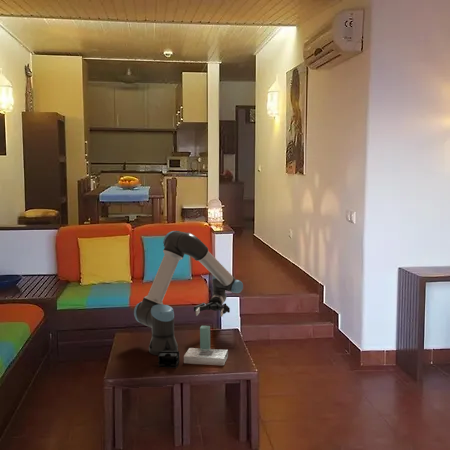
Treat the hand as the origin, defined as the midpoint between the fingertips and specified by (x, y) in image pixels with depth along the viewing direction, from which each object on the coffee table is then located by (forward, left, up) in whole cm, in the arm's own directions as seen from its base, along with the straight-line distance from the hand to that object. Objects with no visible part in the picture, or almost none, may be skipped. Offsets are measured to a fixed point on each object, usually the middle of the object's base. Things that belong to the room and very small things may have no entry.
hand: (208, 313), depth 307 cm
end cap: (-7, -36, -17) cm, 40 cm away
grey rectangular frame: (+8, -24, -16) cm, 30 cm away
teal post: (+2, -10, -16) cm, 19 cm away
